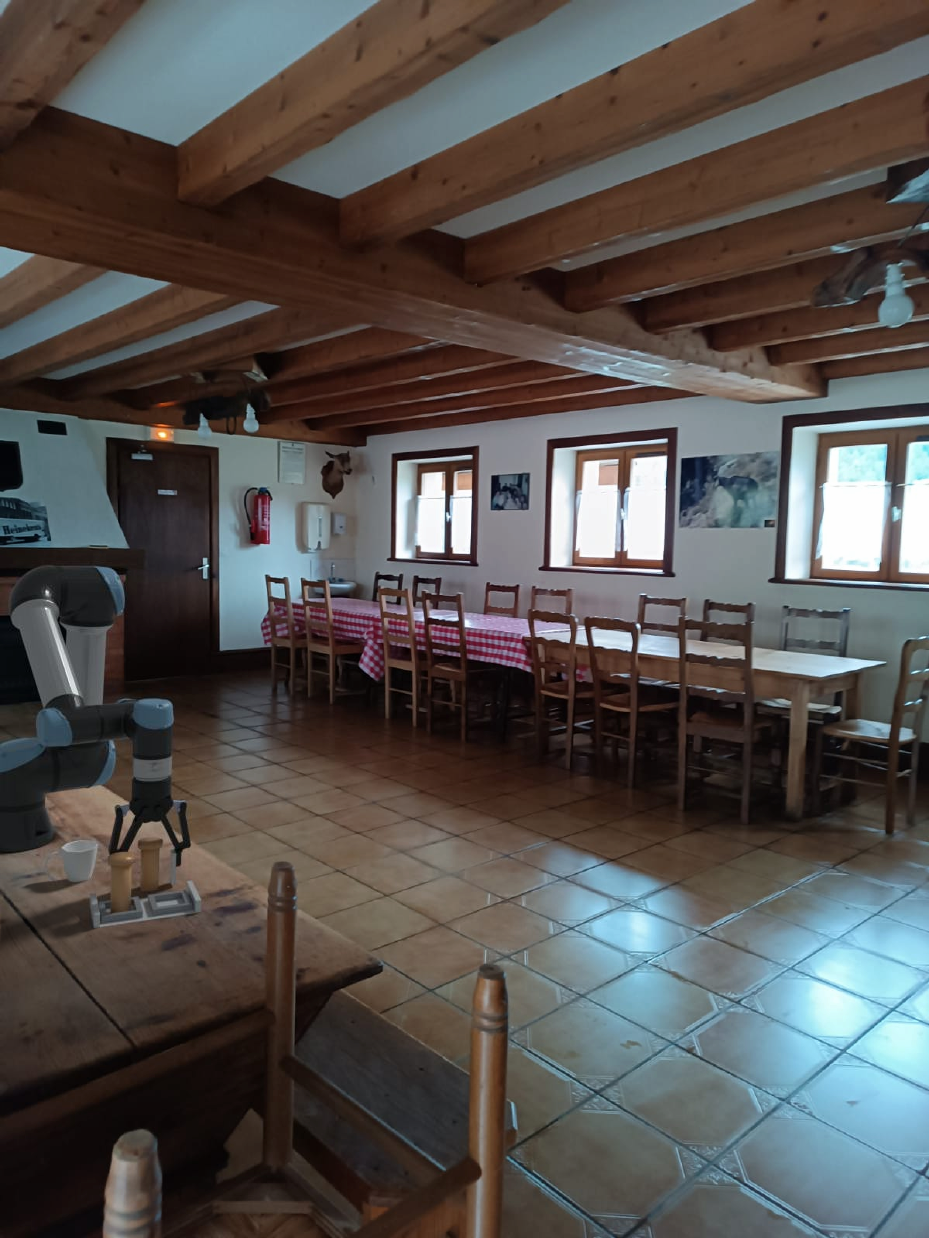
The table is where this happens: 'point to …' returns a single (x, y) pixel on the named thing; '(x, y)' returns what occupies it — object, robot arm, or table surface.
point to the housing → (147, 907)
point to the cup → (77, 860)
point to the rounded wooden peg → (120, 881)
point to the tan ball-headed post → (149, 863)
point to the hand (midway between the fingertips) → (149, 884)
